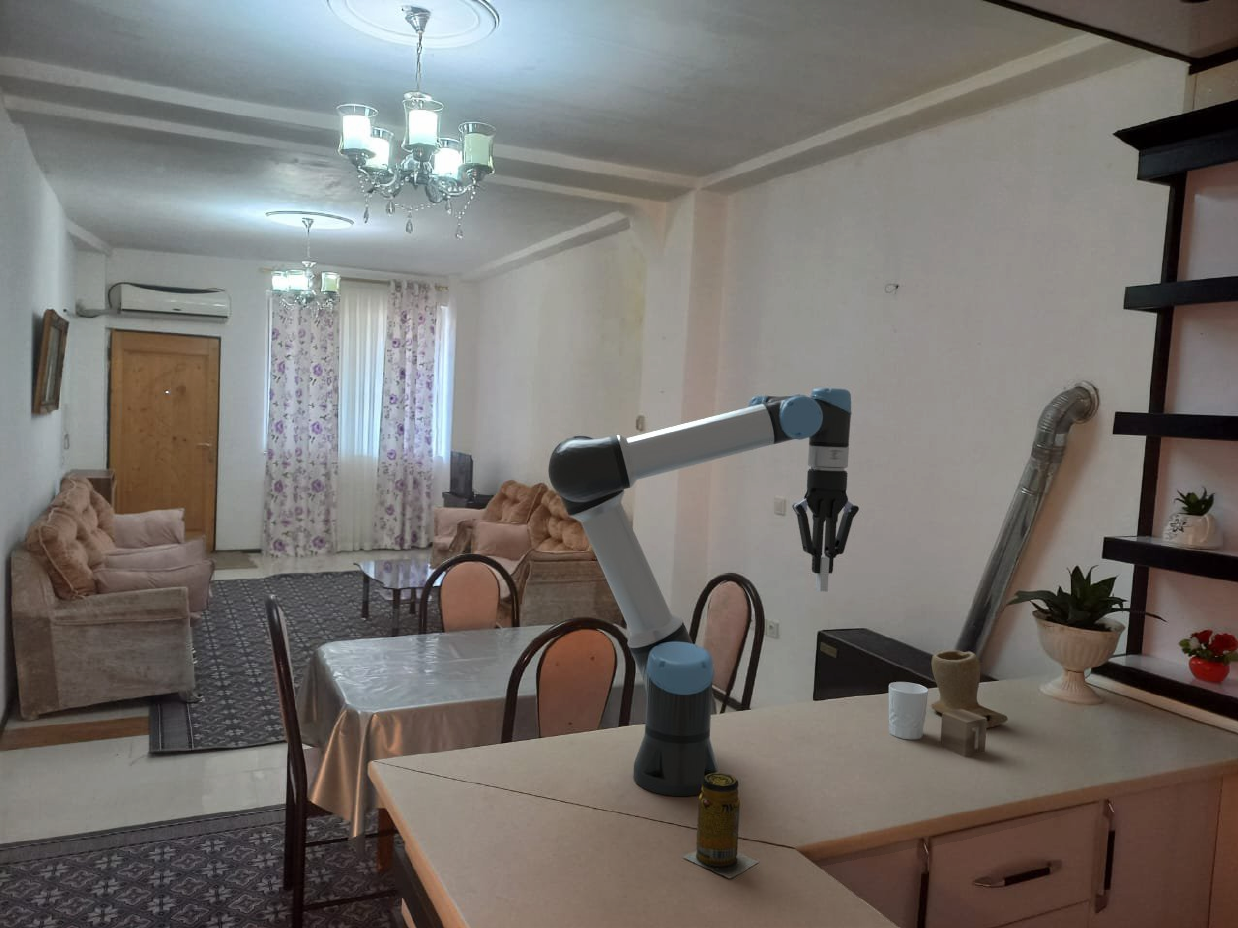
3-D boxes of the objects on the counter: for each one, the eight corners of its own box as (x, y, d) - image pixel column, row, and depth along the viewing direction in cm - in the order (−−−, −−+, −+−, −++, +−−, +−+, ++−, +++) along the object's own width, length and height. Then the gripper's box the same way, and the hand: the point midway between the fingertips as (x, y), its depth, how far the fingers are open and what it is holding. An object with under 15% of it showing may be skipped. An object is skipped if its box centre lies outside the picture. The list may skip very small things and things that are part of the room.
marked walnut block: (965, 757, 176) (967, 722, 175) (940, 746, 181) (942, 712, 181) (985, 752, 179) (988, 718, 178) (960, 742, 184) (962, 708, 184)
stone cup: (916, 711, 203) (920, 646, 202) (955, 705, 208) (959, 642, 207) (968, 734, 189) (972, 664, 188) (1008, 727, 194) (1013, 660, 193)
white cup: (885, 737, 185) (888, 690, 184) (886, 725, 192) (889, 679, 192) (925, 743, 182) (928, 695, 182) (925, 730, 190) (927, 684, 189)
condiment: (712, 842, 137) (716, 765, 136) (758, 862, 131) (762, 783, 130) (682, 858, 131) (686, 778, 130) (729, 880, 125) (733, 797, 125)
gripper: (802, 469, 166) (796, 593, 168) (868, 471, 169) (861, 594, 170) (788, 466, 174) (782, 585, 175) (851, 468, 176) (844, 586, 177)
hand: (821, 589), depth 173 cm, fingers closed
